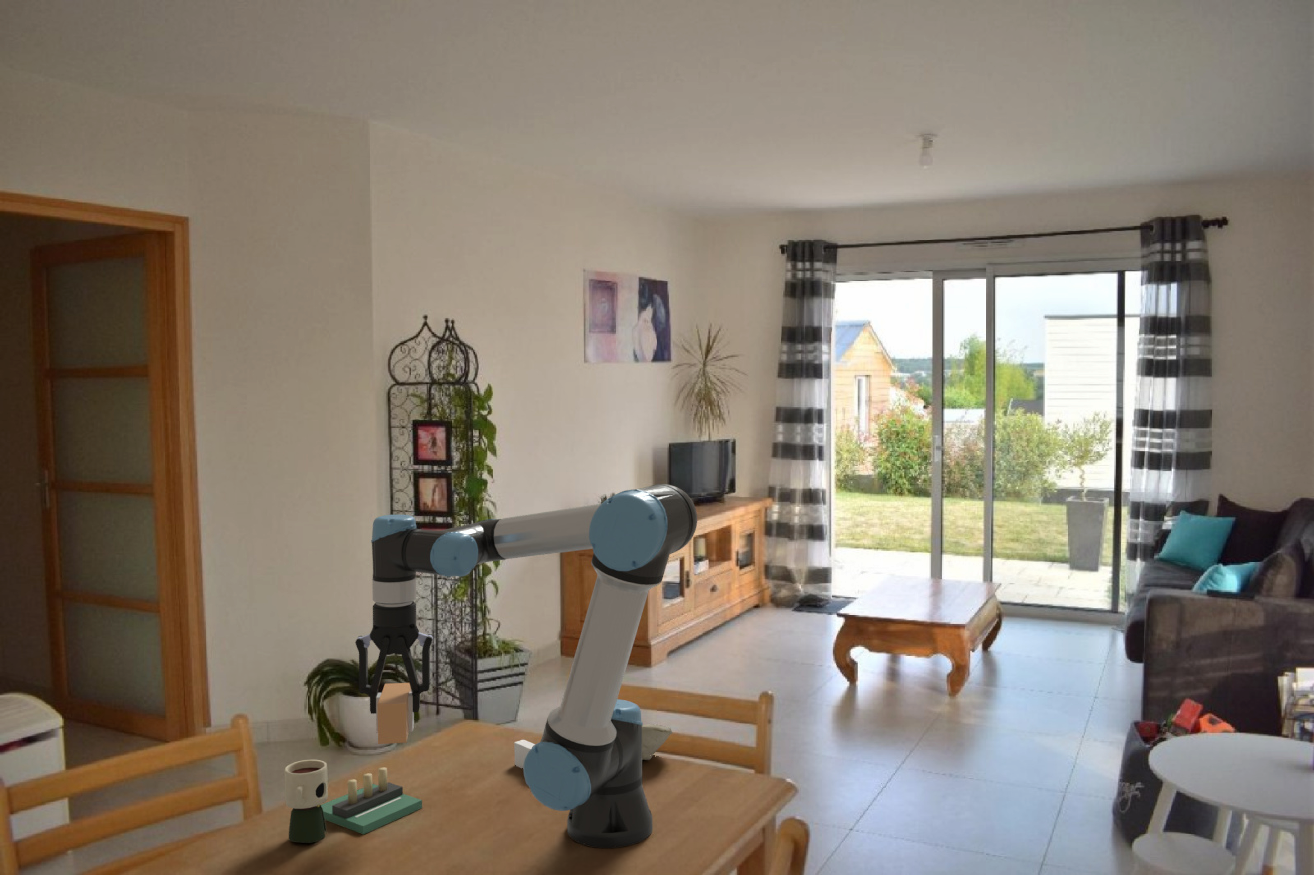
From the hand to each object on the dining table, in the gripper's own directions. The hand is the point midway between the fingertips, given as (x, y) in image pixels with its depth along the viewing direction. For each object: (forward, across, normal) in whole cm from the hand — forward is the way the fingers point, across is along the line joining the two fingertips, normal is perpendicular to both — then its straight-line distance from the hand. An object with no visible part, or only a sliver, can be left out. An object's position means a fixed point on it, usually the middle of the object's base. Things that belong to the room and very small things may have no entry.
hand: (395, 729), depth 186 cm
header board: (+18, +6, -6) cm, 20 cm away
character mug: (+18, +15, +4) cm, 23 cm away
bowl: (+17, -47, -24) cm, 56 cm away
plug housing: (0, 0, -2) cm, 2 cm away
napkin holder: (+18, -25, -20) cm, 37 cm away
